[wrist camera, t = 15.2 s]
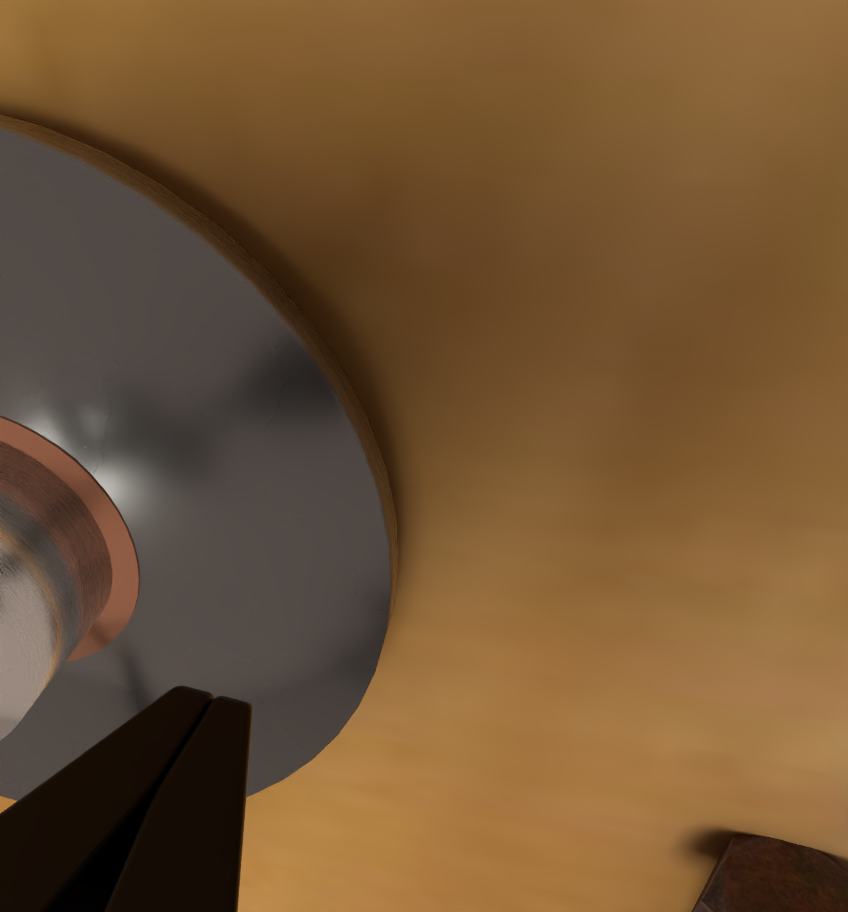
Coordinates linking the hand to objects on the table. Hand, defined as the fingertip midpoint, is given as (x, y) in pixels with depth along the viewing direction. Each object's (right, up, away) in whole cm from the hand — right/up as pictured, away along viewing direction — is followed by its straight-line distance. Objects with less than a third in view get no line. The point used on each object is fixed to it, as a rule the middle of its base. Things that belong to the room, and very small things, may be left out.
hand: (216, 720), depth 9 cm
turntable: (-8, +1, +12) cm, 15 cm away
